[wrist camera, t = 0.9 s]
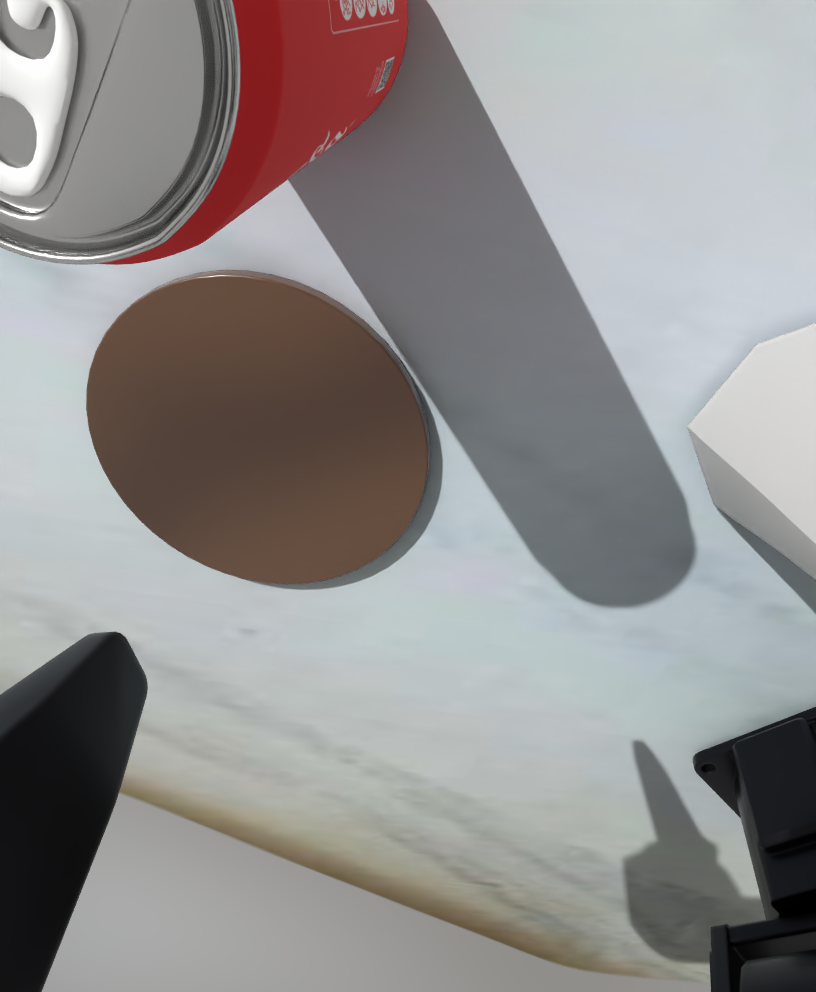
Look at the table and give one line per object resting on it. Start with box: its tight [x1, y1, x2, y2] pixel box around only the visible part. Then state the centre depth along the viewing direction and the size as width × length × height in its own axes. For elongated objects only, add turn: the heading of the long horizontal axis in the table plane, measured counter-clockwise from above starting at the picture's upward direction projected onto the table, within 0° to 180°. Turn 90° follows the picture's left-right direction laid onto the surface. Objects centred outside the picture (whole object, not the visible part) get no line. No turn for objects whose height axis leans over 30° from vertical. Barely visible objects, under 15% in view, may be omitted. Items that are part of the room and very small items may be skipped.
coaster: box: [86, 270, 430, 584], centre depth 24 cm, size 11×11×1 cm
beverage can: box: [0, 0, 408, 265], centre depth 13 cm, size 5×5×12 cm
